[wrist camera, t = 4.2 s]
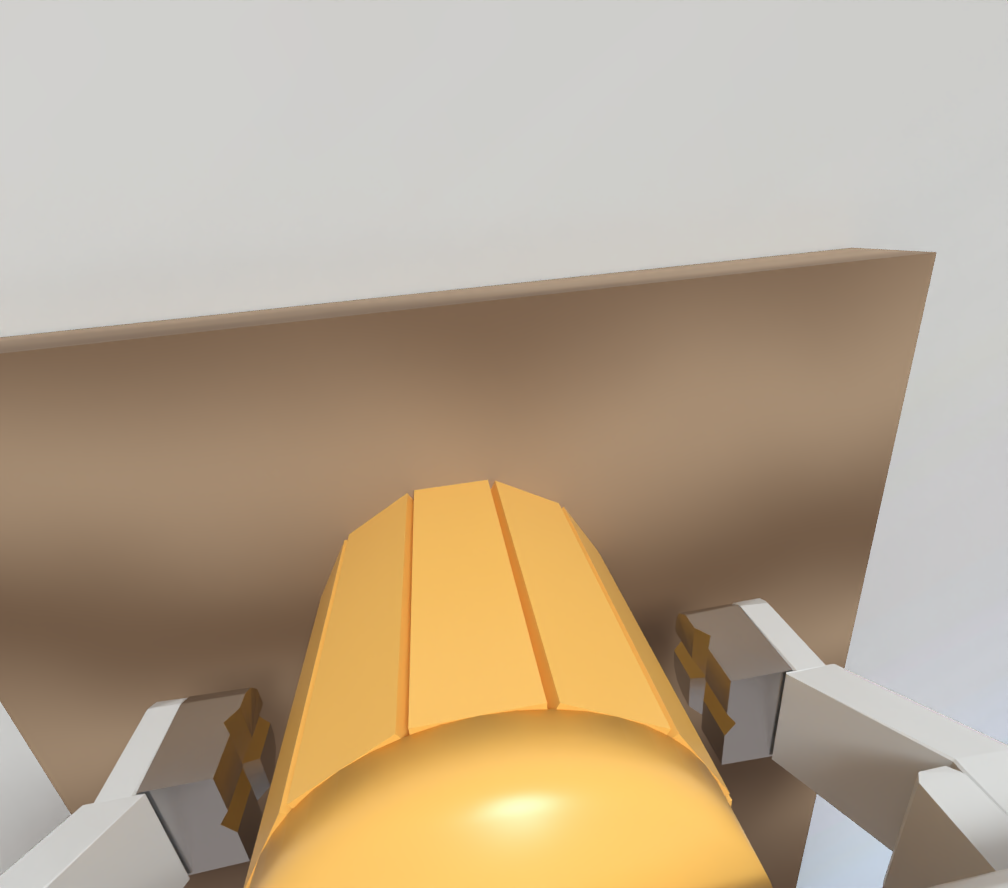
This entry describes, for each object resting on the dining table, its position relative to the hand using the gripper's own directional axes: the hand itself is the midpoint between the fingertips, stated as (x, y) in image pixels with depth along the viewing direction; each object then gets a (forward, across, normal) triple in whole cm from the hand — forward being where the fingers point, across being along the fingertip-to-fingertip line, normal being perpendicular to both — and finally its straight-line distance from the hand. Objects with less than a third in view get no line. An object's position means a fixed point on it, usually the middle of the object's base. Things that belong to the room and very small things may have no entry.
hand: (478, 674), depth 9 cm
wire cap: (+2, 0, 0) cm, 2 cm away
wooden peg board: (+4, 0, +6) cm, 7 cm away
